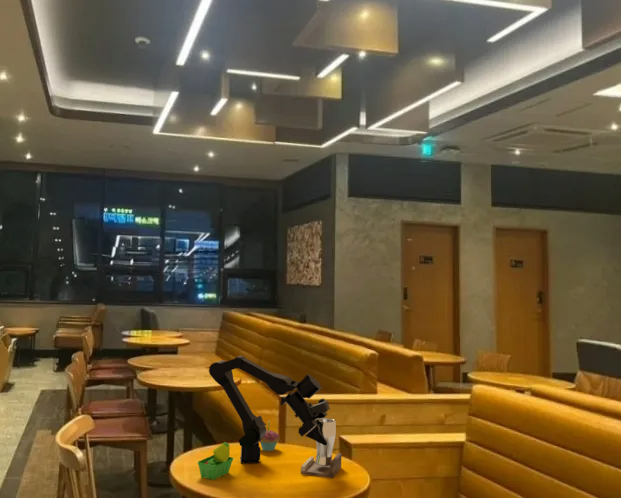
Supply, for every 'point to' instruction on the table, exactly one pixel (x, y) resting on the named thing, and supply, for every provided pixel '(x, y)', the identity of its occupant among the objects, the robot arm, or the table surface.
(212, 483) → the table surface
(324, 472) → the grey bracket
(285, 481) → the table surface
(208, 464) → the fruit basket
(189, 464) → the table surface
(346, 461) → the table surface
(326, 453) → the beer glass
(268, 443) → the cupcake
